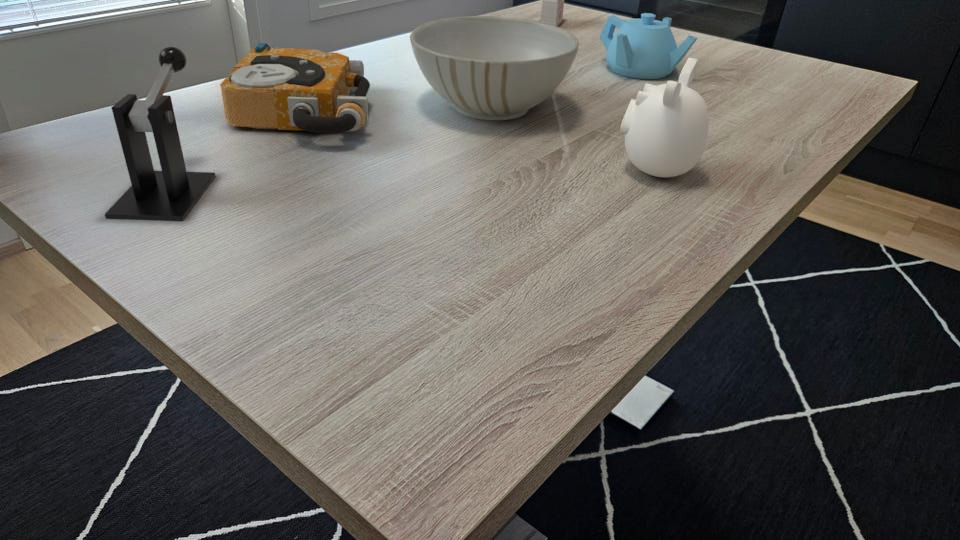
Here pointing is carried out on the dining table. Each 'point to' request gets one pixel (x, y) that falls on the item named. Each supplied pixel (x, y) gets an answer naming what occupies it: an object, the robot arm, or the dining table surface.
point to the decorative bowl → (493, 62)
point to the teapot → (643, 46)
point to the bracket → (153, 190)
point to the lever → (157, 87)
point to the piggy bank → (666, 126)
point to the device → (296, 91)
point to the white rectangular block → (552, 12)
